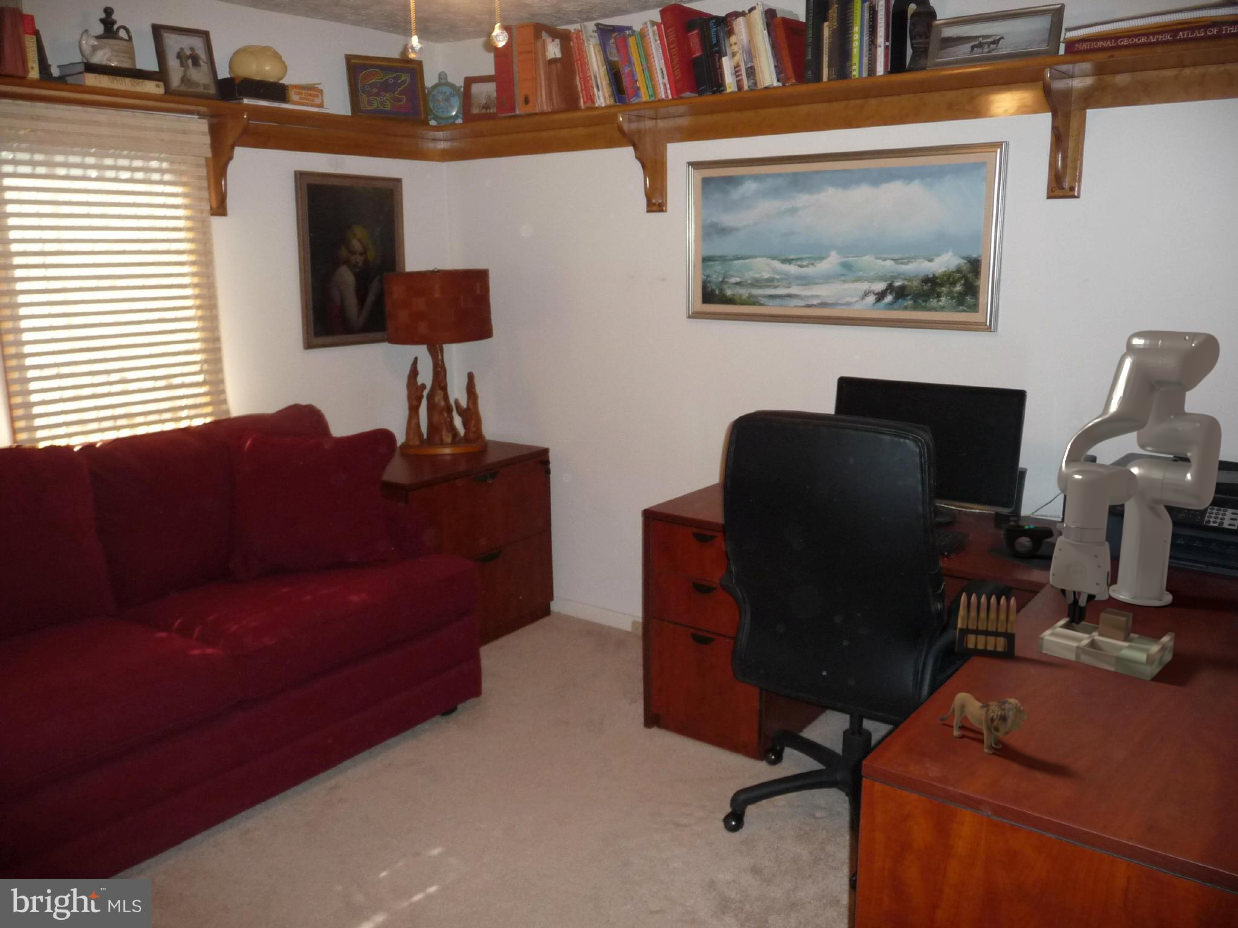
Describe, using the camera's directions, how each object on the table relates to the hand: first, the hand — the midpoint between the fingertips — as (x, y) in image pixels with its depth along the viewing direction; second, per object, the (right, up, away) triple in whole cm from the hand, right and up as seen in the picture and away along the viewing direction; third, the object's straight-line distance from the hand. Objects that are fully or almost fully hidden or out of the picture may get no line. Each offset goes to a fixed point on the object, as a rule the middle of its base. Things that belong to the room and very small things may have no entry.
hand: (1075, 621), depth 192 cm
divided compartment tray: (+2, -5, -6) cm, 9 cm away
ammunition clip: (-20, -5, -5) cm, 22 cm away
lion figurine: (-34, -13, -40) cm, 53 cm away
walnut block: (+5, -2, -5) cm, 7 cm away
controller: (+14, +7, +56) cm, 59 cm away
